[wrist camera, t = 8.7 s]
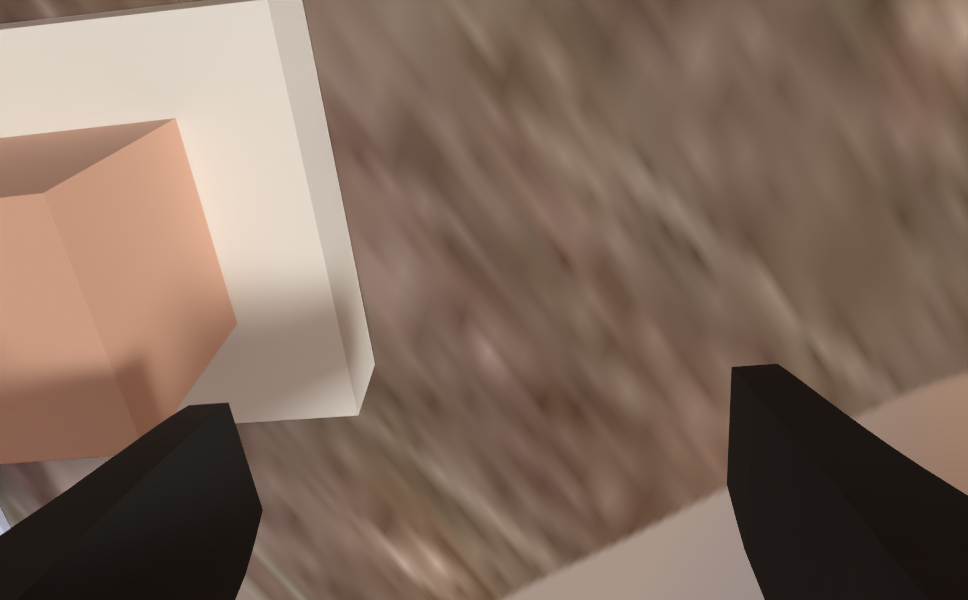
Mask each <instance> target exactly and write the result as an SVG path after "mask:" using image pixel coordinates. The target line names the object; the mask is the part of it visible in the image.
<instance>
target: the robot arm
mask: <svg viewBox="0 0 968 600" xmlns="http://www.w3.org/2000/svg"><path fill="white" fill-rule="evenodd" d="M727 486H728V490H729V493H730V497H731V501H732V505H733V508H734V513H735V516H736V520H737V524H738V527H739V531H740V535H741V538H742V542H743V545H744V549H745V551H746V554H747V557H748V559H749V561H750V564H751V567H752V569H753V571H754V574H755V576H756V579H757V582H758V584H759V586H760V589H761V591H762V594H763V596H764V599H765V600H968V495H966V494H964V493H963V492H961V491H959V490H958V489H956V488H954V487H953V486H951V485H950V484H948V483H947V482H945V481H943V480H942V479H940V478H939V477H937V476H935V475H934V474H932V473H931V472H929V471H927V470H926V469H924V468H923V467H921V466H919V465H918V464H917V463H915V462H914V461H912V460H911V459H909V458H907V457H906V456H904V455H903V454H902V453H900V452H899V451H897V450H895V449H894V448H893V447H891V446H890V445H888V444H887V443H885V442H884V441H882V440H881V439H880V438H878V437H877V436H875V435H874V434H873V433H871V432H870V431H868V430H867V429H866V428H864V427H863V426H861V425H860V424H859V423H857V422H856V421H854V420H853V419H852V418H850V417H849V416H848V415H846V414H845V413H843V412H842V411H841V410H839V409H838V408H837V407H835V406H834V405H833V404H831V403H830V402H829V401H827V400H826V399H825V398H823V397H822V396H821V395H819V394H818V393H817V392H815V391H814V390H813V389H811V388H810V387H809V386H807V385H806V384H805V383H803V382H802V381H801V380H799V379H798V378H797V377H795V376H794V375H793V374H791V373H790V372H788V371H787V370H786V369H784V368H783V367H781V366H780V365H778V364H769V365H755V366H741V367H732V374H731V399H730V423H729V448H728V472H727ZM262 511H263V510H262V507H261V503H260V500H259V497H258V494H257V491H256V488H255V485H254V481H253V478H252V475H251V472H250V469H249V466H248V462H247V459H246V456H245V453H244V450H243V447H242V443H241V440H240V437H239V434H238V431H237V428H236V424H235V421H234V418H233V415H232V412H231V409H230V405H229V402H228V403H213V404H199V405H188V406H187V407H185V408H183V409H182V410H180V411H178V412H177V413H175V414H173V415H172V416H170V417H169V418H167V419H166V420H164V421H163V422H161V423H160V424H158V425H157V426H156V427H154V428H153V429H151V430H150V431H148V432H147V433H146V434H144V435H143V436H141V437H140V438H139V439H137V440H136V441H134V442H133V443H132V444H130V445H129V446H128V447H126V448H125V449H123V450H122V451H121V452H119V453H118V454H117V455H115V456H114V457H112V458H111V459H110V460H108V461H107V462H105V463H104V464H103V465H101V466H100V467H99V468H97V469H96V470H94V471H93V472H92V473H90V474H89V475H87V476H86V477H85V478H83V479H82V480H81V481H79V482H78V483H76V484H75V485H74V486H72V487H71V488H69V489H68V490H67V491H65V492H64V493H62V494H61V495H59V496H58V497H56V498H55V499H53V500H52V501H51V502H49V503H48V504H46V505H45V506H43V507H42V508H40V509H39V510H37V511H36V512H34V513H33V514H31V515H30V516H28V517H27V518H25V519H24V520H22V521H21V522H19V523H18V524H16V525H15V526H13V527H12V528H10V526H9V524H8V522H7V520H6V518H5V516H4V514H3V512H2V510H1V508H0V600H235V599H236V596H237V594H238V591H239V589H240V586H241V584H242V581H243V579H244V576H245V574H246V571H247V567H248V564H249V560H250V557H251V553H252V550H253V546H254V543H255V539H256V535H257V531H258V527H259V523H260V519H261V515H262Z"/></svg>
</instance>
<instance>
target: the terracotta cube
mask: <svg viewBox="0 0 968 600" xmlns="http://www.w3.org/2000/svg"><path fill="white" fill-rule="evenodd" d="M236 325H237V322H236V318H235V315H234V312H233V308H232V305H231V302H230V298H229V295H228V291H227V288H226V285H225V281H224V278H223V275H222V271H221V268H220V265H219V261H218V258H217V255H216V251H215V248H214V245H213V241H212V238H211V235H210V231H209V228H208V224H207V221H206V218H205V214H204V211H203V208H202V204H201V201H200V198H199V194H198V191H197V188H196V184H195V181H194V178H193V174H192V171H191V168H190V164H189V161H188V157H187V154H186V151H185V147H184V144H183V141H182V137H181V134H180V131H179V127H178V124H177V121H176V118H173V119H164V120H155V121H146V122H137V123H128V124H120V125H111V126H102V127H93V128H84V129H75V130H66V131H58V132H49V133H40V134H31V135H22V136H13V137H4V138H0V464H9V463H23V462H37V461H50V460H64V459H78V458H92V457H106V456H115V455H117V454H118V453H119V452H121V451H122V450H123V449H125V448H126V447H128V446H129V445H130V444H132V443H133V442H134V441H136V440H137V439H139V438H140V437H141V436H143V435H144V434H146V433H147V432H148V431H150V430H151V429H153V428H154V427H156V426H157V425H158V424H160V423H161V422H163V421H164V420H166V419H167V418H169V417H170V416H172V415H173V414H174V413H175V411H176V410H177V408H178V407H179V406H180V404H181V403H182V401H183V400H184V399H185V397H186V396H187V394H188V393H189V391H190V390H191V389H192V387H193V386H194V384H195V383H196V381H197V380H198V379H199V377H200V376H201V374H202V373H203V372H204V370H205V369H206V367H207V366H208V364H209V363H210V362H211V360H212V359H213V357H214V356H215V354H216V353H217V352H218V350H219V349H220V347H221V346H222V345H223V343H224V342H225V340H226V339H227V337H228V336H229V335H230V333H231V332H232V330H233V329H234V327H235V326H236Z"/></svg>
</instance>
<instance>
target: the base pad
mask: <svg viewBox="0 0 968 600" xmlns="http://www.w3.org/2000/svg"><path fill="white" fill-rule="evenodd" d="M173 118H176V121H177V124H178V127H179V131H180V134H181V137H182V141H183V144H184V147H185V151H186V154H187V157H188V161H189V164H190V168H191V171H192V174H193V178H194V181H195V184H196V188H197V191H198V194H199V198H200V201H201V204H202V208H203V211H204V214H205V218H206V221H207V224H208V228H209V231H210V235H211V238H212V241H213V245H214V248H215V251H216V255H217V258H218V261H219V265H220V268H221V271H222V275H223V278H224V281H225V285H226V288H227V291H228V295H229V298H230V302H231V305H232V308H233V312H234V315H235V318H236V322H237V325H236V326H235V327H234V329H233V330H232V332H231V333H230V335H229V336H228V337H227V339H226V340H225V342H224V343H223V345H222V346H221V347H220V349H219V350H218V352H217V353H216V354H215V356H214V357H213V359H212V360H211V362H210V363H209V364H208V366H207V367H206V369H205V370H204V372H203V373H202V374H201V376H200V377H199V379H198V380H197V381H196V383H195V384H194V386H193V387H192V389H191V390H190V391H189V393H188V394H187V396H186V397H185V399H184V400H183V401H182V403H181V404H180V406H179V407H178V408H177V410H176V411H175V413H177V412H178V411H180V410H182V409H183V408H185V407H187V406H188V405H199V404H213V403H228V402H229V405H230V409H231V412H232V415H233V418H234V421H235V423H248V422H263V421H278V420H294V419H309V418H324V417H339V416H354V415H359V412H360V408H361V405H362V402H363V399H364V396H365V393H366V390H367V387H368V384H369V381H370V378H371V375H372V372H373V368H374V365H375V362H374V357H373V352H372V347H371V342H370V337H369V332H368V327H367V322H366V317H365V312H364V307H363V302H362V297H361V292H360V287H359V282H358V277H357V272H356V267H355V262H354V257H353V252H352V247H351V242H350V237H349V232H348V227H347V222H346V217H345V212H344V207H343V202H342V197H341V192H340V187H339V182H338V177H337V172H336V167H335V162H334V157H333V152H332V147H331V142H330V137H329V132H328V127H327V122H326V117H325V112H324V107H323V102H322V97H321V92H320V87H319V82H318V77H317V72H316V67H315V62H314V57H313V52H312V47H311V42H310V37H309V32H308V27H307V22H306V17H305V12H304V7H303V2H302V0H204V1H195V2H187V3H178V4H169V5H161V6H152V7H143V8H135V9H126V10H117V11H109V12H100V13H91V14H82V15H74V16H65V17H56V18H48V19H39V20H30V21H22V22H13V23H4V24H0V138H4V137H13V136H22V135H31V134H40V133H49V132H58V131H66V130H75V129H84V128H93V127H102V126H111V125H120V124H128V123H137V122H146V121H155V120H164V119H173ZM175 413H174V414H175Z"/></svg>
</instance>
